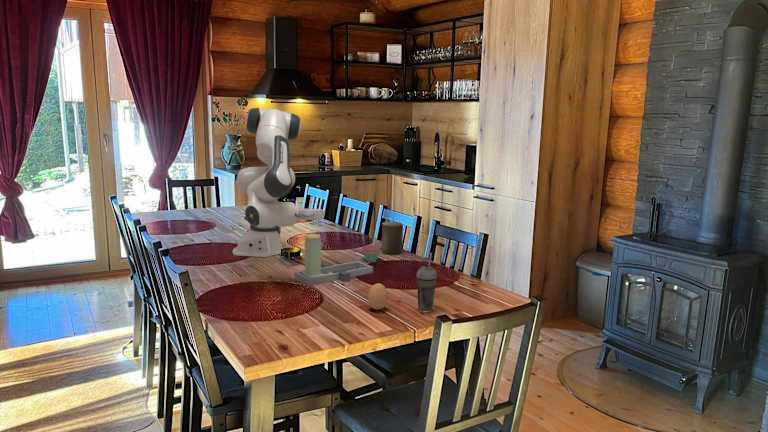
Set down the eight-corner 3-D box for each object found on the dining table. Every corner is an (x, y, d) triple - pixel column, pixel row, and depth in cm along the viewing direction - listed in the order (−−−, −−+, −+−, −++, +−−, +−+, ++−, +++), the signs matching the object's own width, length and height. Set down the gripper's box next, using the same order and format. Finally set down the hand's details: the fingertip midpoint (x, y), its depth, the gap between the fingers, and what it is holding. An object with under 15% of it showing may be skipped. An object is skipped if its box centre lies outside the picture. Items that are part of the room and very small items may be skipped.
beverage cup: (413, 306, 196) (415, 249, 192) (434, 306, 197) (436, 250, 193) (416, 314, 189) (418, 255, 185) (437, 314, 190) (440, 255, 186)
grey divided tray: (312, 288, 212) (312, 280, 211) (290, 276, 226) (290, 268, 225) (378, 275, 230) (378, 267, 230) (353, 264, 244) (353, 257, 243)
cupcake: (382, 259, 254) (383, 232, 251) (376, 264, 246) (377, 236, 243) (364, 257, 256) (365, 230, 254) (357, 261, 248) (358, 234, 246)
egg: (387, 306, 196) (388, 280, 194) (387, 313, 189) (388, 286, 187) (367, 305, 195) (368, 280, 194) (367, 312, 189) (368, 286, 187)
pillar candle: (400, 255, 260) (401, 223, 257) (379, 253, 262) (380, 221, 259) (403, 250, 270) (405, 219, 267) (383, 249, 271) (384, 218, 269)
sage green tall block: (310, 282, 217) (310, 238, 214) (301, 277, 223) (301, 234, 219) (324, 279, 221) (324, 236, 218) (314, 275, 226) (315, 232, 223)
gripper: (306, 206, 200) (334, 205, 211) (268, 204, 213) (296, 203, 223) (306, 224, 200) (334, 222, 211) (268, 221, 213) (296, 220, 224)
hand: (314, 212), depth 217 cm, fingers open, 8 cm apart
